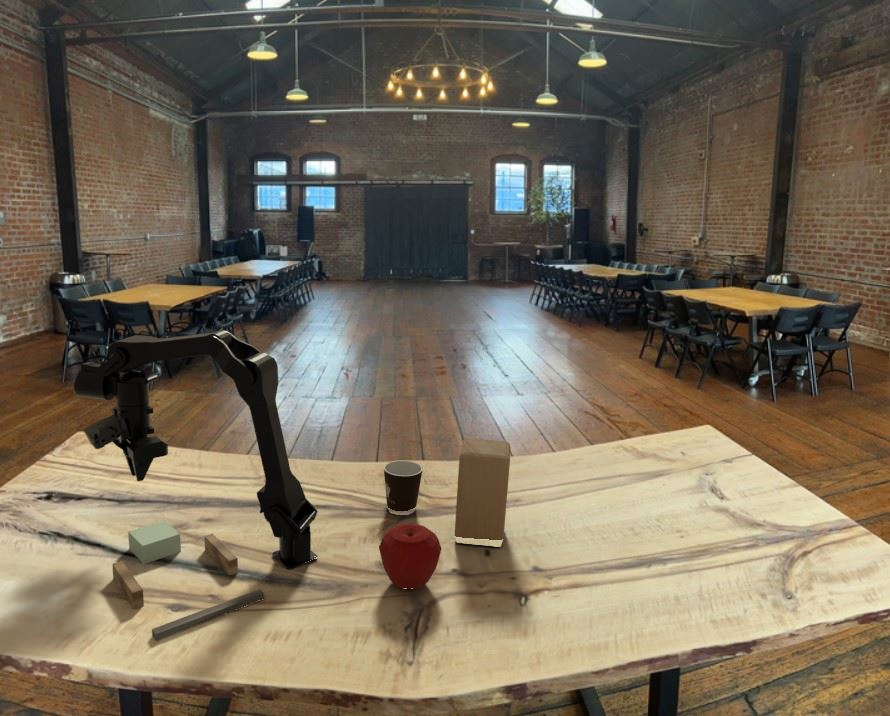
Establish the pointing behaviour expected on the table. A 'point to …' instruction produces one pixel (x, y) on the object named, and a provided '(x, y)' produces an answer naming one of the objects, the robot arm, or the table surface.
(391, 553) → the apple
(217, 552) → the set of wooden bars
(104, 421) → the robot arm
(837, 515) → the table surface
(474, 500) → the wooden block
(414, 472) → the coffee mug
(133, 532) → the sage block
